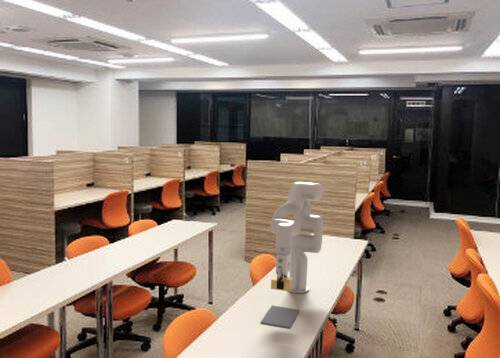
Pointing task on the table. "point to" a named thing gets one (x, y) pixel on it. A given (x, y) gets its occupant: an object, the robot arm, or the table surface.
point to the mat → (280, 316)
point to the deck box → (287, 283)
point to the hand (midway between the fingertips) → (281, 286)
